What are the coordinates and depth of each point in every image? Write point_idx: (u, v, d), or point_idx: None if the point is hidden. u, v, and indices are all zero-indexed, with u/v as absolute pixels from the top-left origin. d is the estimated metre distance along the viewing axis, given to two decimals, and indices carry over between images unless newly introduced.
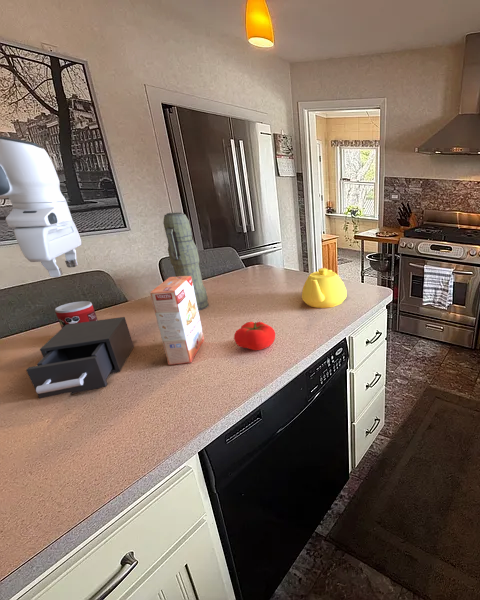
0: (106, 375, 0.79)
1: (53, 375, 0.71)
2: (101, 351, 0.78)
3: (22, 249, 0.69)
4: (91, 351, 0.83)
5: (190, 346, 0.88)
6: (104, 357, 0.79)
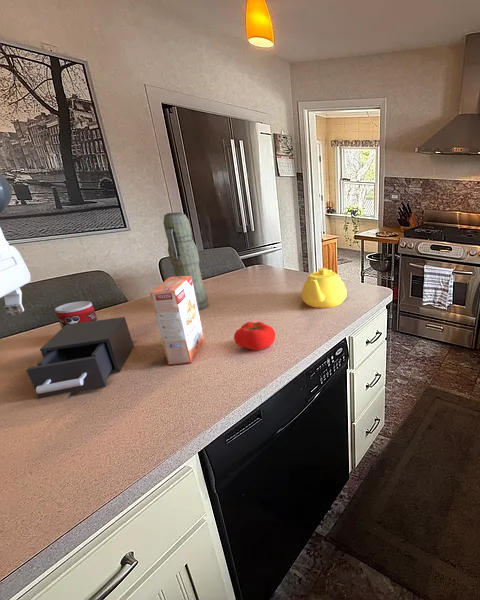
0: (106, 375, 0.79)
1: (53, 375, 0.71)
2: (101, 351, 0.78)
3: None
4: (91, 351, 0.83)
5: (190, 346, 0.88)
6: (104, 357, 0.79)
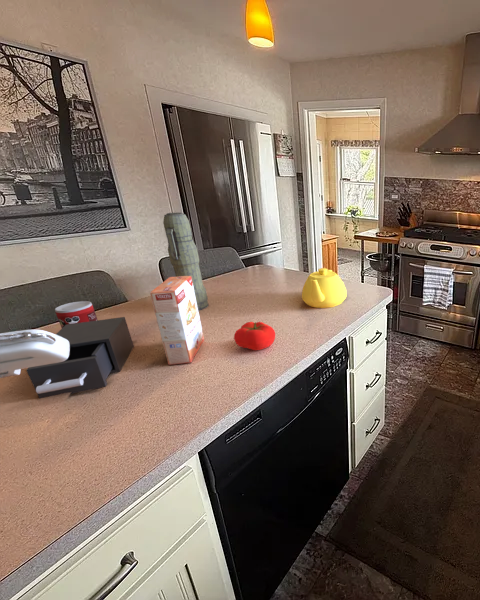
0: (106, 375, 0.79)
1: (53, 375, 0.71)
2: (101, 351, 0.78)
3: None
4: (91, 351, 0.83)
5: (190, 346, 0.88)
6: (104, 357, 0.79)
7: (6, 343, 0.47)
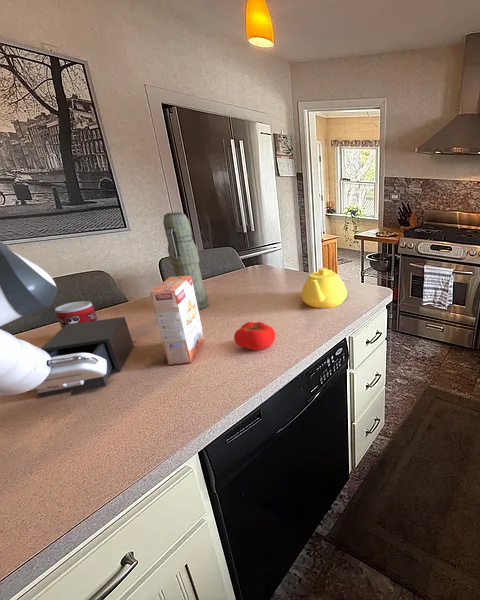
0: (106, 374, 0.79)
1: None
2: (101, 351, 0.79)
3: None
4: (92, 350, 0.83)
5: (190, 346, 0.88)
6: (104, 356, 0.80)
7: (62, 364, 0.60)
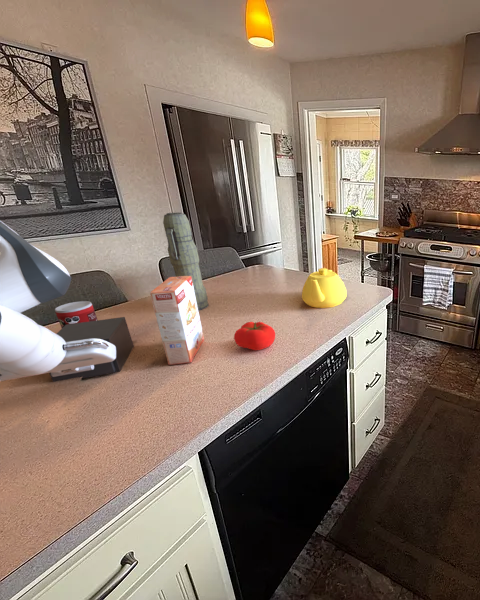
0: None
1: None
2: None
3: None
4: None
5: (190, 346, 0.88)
6: None
7: (76, 348, 0.66)
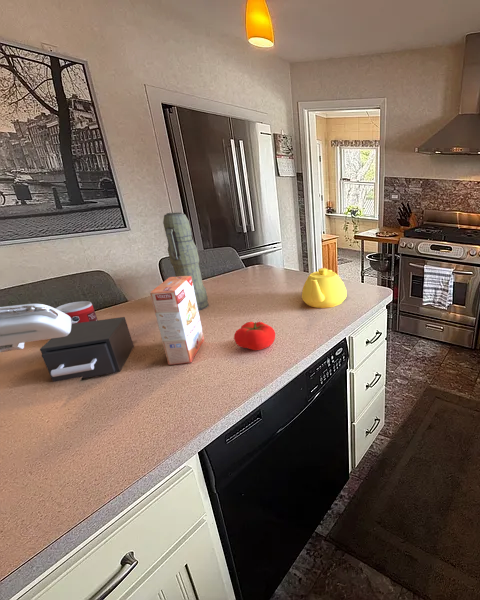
0: None
1: (66, 360, 0.77)
2: None
3: None
4: None
5: (190, 346, 0.88)
6: None
7: (11, 315, 0.49)
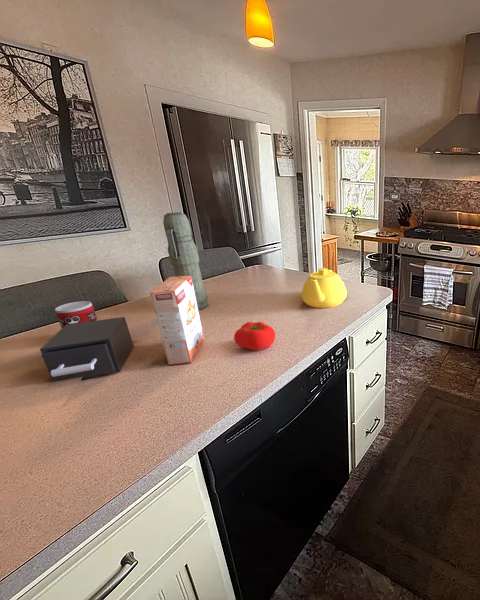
0: None
1: (66, 360, 0.77)
2: None
3: None
4: None
5: (190, 346, 0.88)
6: None
7: None
